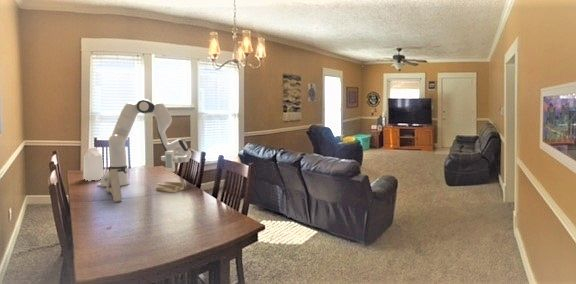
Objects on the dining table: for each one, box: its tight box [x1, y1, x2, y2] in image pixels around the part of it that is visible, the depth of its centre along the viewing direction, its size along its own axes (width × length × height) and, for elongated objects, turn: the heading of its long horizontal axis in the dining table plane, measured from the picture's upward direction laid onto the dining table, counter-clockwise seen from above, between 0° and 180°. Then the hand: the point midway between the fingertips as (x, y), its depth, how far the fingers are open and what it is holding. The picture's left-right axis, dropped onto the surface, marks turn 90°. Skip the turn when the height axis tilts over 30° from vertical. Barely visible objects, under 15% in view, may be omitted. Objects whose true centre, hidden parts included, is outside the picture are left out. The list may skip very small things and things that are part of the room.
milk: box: [82, 146, 105, 182], centre depth 326 cm, size 12×12×26 cm
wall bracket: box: [105, 169, 123, 203], centre depth 268 cm, size 22×4×30 cm
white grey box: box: [164, 151, 176, 173], centre depth 296 cm, size 4×6×15 cm
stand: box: [155, 180, 185, 193], centre depth 288 cm, size 11×16×4 cm
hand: (169, 160), depth 295 cm, fingers closed on white grey box, 5 cm apart
